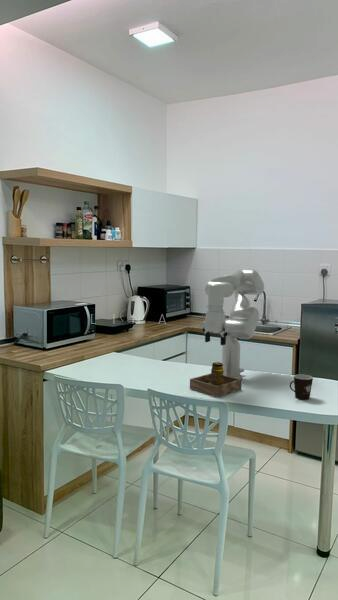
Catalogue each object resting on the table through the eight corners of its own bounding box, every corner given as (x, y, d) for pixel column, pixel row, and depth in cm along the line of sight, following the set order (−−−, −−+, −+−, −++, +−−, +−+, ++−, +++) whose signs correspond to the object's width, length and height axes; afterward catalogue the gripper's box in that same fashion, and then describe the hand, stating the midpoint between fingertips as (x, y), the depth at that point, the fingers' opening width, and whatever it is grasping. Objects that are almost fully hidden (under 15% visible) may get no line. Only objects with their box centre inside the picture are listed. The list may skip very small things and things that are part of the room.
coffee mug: (308, 394, 218) (309, 374, 217) (314, 400, 209) (315, 379, 208) (284, 394, 218) (285, 374, 217) (289, 400, 209) (290, 379, 208)
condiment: (226, 387, 225) (227, 363, 223) (213, 390, 220) (214, 366, 219) (217, 384, 231) (217, 360, 229) (204, 386, 226) (204, 363, 225)
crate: (213, 381, 238) (213, 372, 237) (241, 389, 225) (241, 379, 225) (189, 388, 226) (189, 379, 225) (217, 397, 213) (218, 387, 212)
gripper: (197, 307, 225) (196, 341, 228) (225, 311, 213) (224, 347, 216) (206, 306, 231) (206, 339, 233) (234, 309, 219) (234, 344, 221)
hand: (215, 343), depth 224 cm, fingers open, 9 cm apart
